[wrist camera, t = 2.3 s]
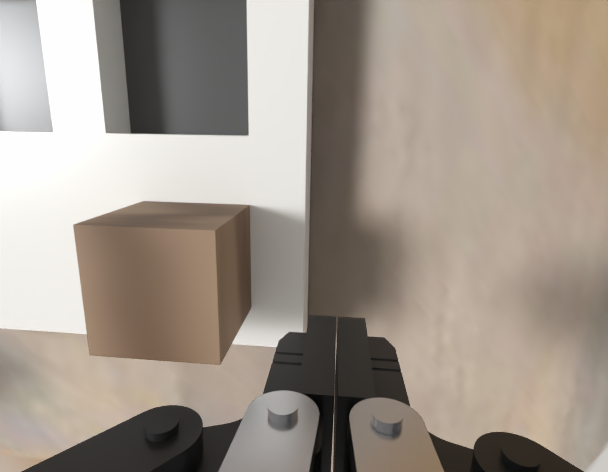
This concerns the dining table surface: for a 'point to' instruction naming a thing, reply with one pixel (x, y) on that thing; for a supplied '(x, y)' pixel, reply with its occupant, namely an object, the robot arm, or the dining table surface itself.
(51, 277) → the board
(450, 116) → the dining table surface
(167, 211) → the walnut block
